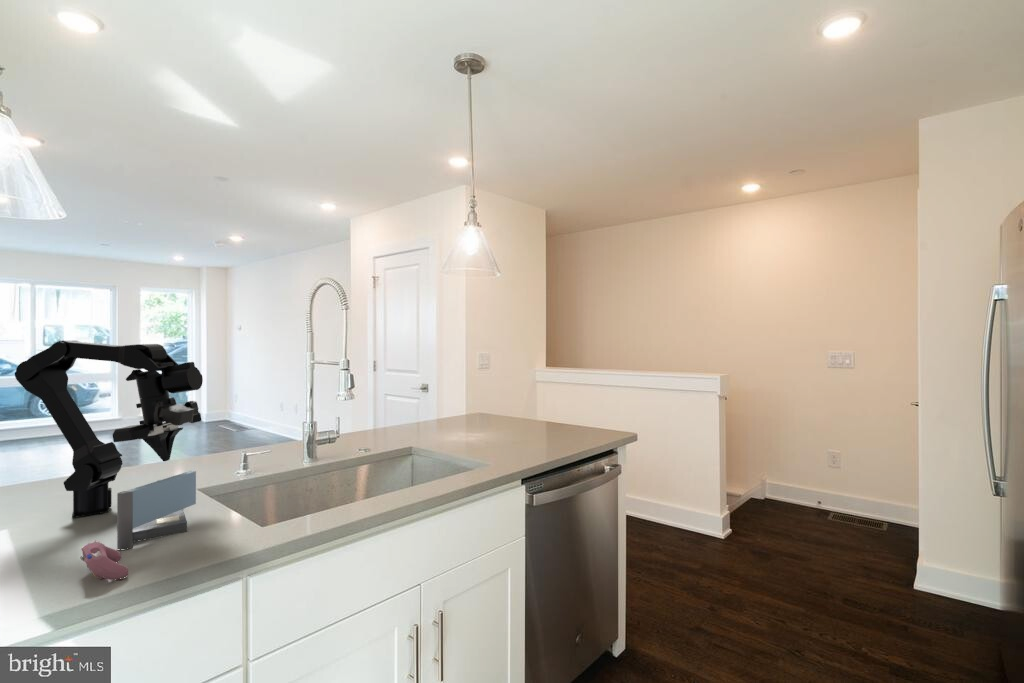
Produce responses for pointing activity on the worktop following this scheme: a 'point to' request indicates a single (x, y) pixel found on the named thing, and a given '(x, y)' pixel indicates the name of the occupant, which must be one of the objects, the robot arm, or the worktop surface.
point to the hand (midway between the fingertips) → (166, 460)
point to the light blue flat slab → (152, 504)
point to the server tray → (162, 526)
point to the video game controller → (103, 561)
